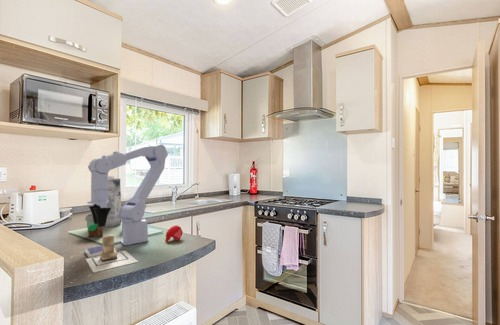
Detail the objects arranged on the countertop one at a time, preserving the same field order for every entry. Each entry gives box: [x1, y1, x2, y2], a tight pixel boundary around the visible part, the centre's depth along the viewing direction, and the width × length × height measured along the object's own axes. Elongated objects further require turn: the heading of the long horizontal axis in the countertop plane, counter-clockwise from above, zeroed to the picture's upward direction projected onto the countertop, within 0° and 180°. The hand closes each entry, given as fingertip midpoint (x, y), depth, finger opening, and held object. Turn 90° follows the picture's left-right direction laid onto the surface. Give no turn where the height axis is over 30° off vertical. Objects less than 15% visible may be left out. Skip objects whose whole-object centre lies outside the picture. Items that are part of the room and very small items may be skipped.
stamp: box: [100, 233, 117, 262], centre depth 94 cm, size 4×4×8 cm
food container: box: [84, 212, 104, 238], centre depth 127 cm, size 12×6×10 cm, turn 40°
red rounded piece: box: [164, 225, 183, 243], centre depth 116 cm, size 8×6×6 cm
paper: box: [85, 250, 138, 273], centre depth 93 cm, size 13×16×1 cm
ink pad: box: [84, 245, 117, 258], centre depth 102 cm, size 9×9×1 cm
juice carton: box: [103, 175, 122, 228], centre depth 150 cm, size 9×10×27 cm
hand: (99, 224), depth 105 cm, fingers open, 7 cm apart
